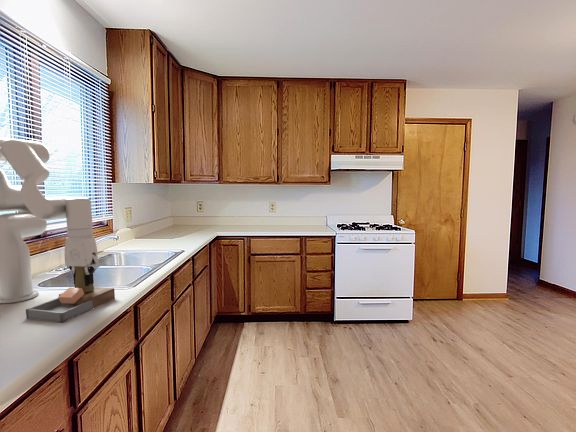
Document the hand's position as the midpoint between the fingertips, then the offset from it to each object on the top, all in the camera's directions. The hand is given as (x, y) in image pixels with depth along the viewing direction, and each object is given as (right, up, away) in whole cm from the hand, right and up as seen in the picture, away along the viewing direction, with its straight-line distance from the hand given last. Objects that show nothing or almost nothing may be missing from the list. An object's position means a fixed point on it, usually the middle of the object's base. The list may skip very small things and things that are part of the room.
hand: (83, 284), depth 118 cm
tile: (-1, -4, -5) cm, 6 cm away
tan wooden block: (0, -7, +2) cm, 7 cm away
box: (-2, -8, -9) cm, 12 cm away
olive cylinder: (0, -2, 0) cm, 2 cm away
